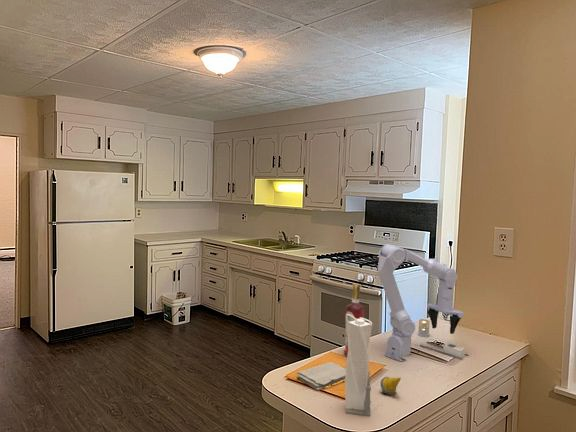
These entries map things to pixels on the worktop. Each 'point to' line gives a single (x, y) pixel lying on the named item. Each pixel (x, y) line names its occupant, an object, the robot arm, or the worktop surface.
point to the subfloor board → (441, 351)
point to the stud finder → (454, 350)
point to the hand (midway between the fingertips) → (443, 330)
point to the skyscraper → (358, 367)
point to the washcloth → (322, 375)
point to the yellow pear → (389, 385)
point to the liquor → (354, 311)
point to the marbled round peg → (423, 328)
